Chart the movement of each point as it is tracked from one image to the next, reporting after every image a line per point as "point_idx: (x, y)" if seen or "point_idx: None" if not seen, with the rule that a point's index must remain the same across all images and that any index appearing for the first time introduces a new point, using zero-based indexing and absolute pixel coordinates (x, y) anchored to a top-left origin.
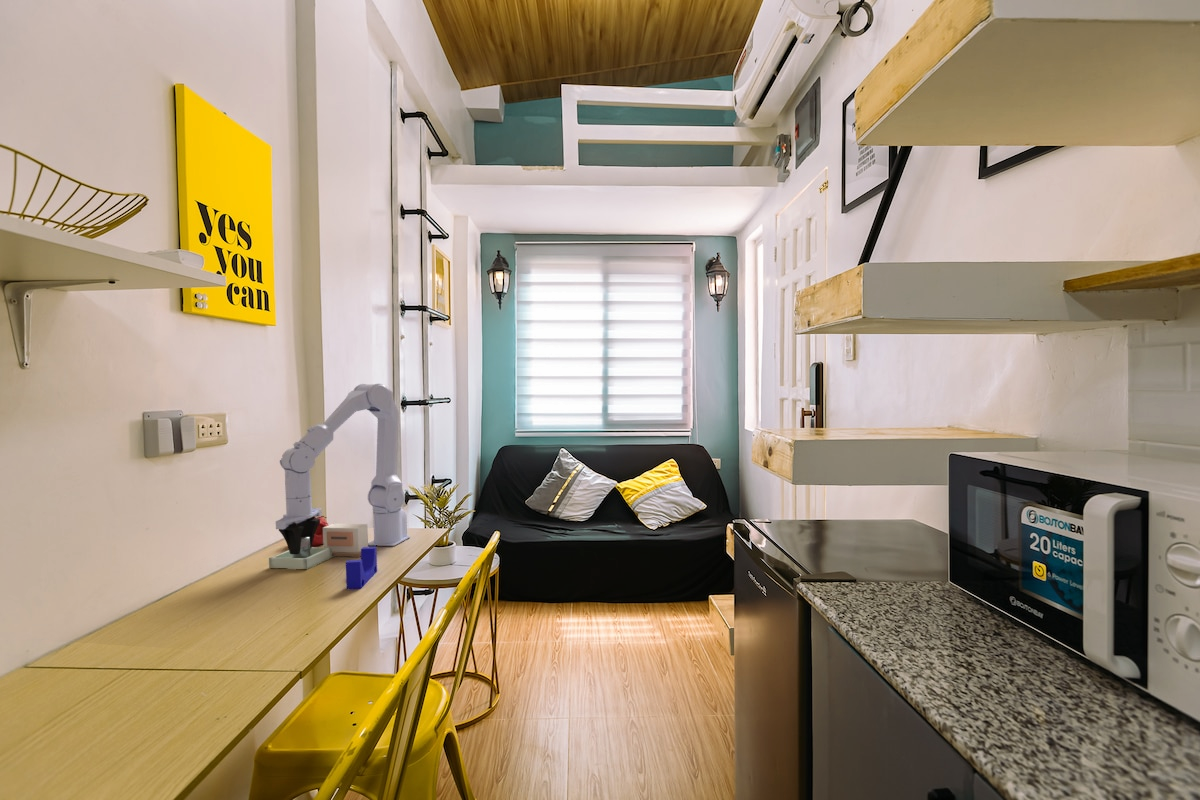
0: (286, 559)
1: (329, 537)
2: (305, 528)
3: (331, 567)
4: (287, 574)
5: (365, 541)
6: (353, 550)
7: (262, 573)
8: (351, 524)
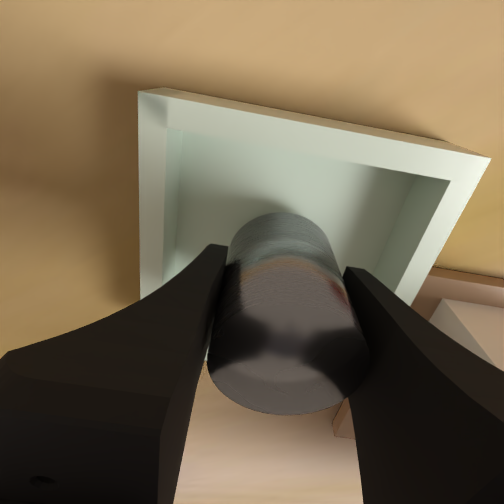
0: (140, 242)
1: None
2: (397, 441)
3: (199, 381)
4: (81, 259)
5: None
6: None
7: (63, 99)
8: None
